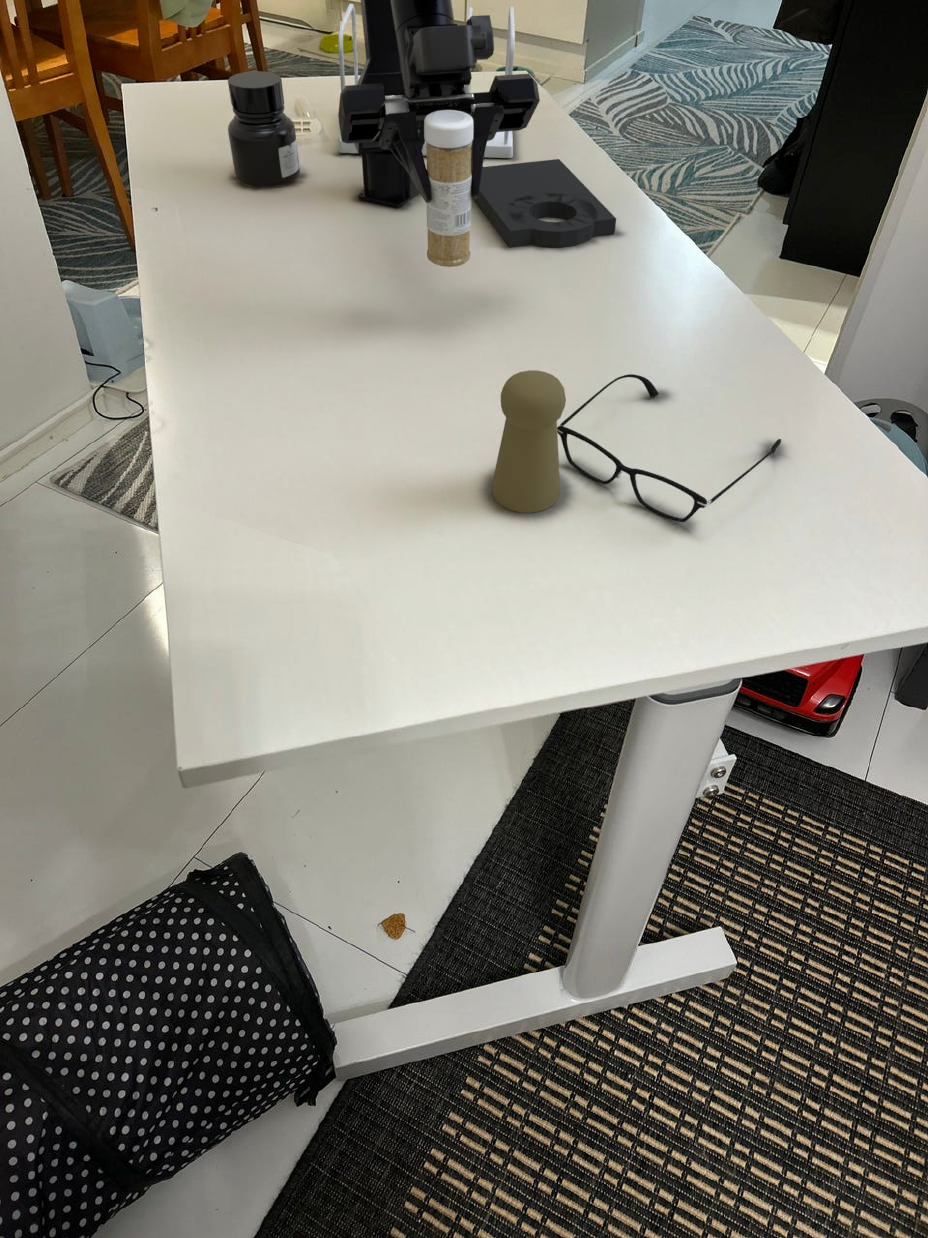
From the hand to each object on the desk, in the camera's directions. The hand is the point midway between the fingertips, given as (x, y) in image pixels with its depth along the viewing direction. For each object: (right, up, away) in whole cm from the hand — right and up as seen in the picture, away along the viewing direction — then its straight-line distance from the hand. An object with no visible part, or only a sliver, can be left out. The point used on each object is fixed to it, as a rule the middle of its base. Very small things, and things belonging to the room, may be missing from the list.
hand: (452, 198), depth 87 cm
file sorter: (-4, +32, +49) cm, 59 cm away
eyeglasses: (+20, -26, -5) cm, 33 cm away
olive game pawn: (+7, -29, -8) cm, 31 cm away
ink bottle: (-26, +21, +38) cm, 50 cm away
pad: (+11, +14, +32) cm, 36 cm away
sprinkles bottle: (0, -4, +6) cm, 7 cm away
